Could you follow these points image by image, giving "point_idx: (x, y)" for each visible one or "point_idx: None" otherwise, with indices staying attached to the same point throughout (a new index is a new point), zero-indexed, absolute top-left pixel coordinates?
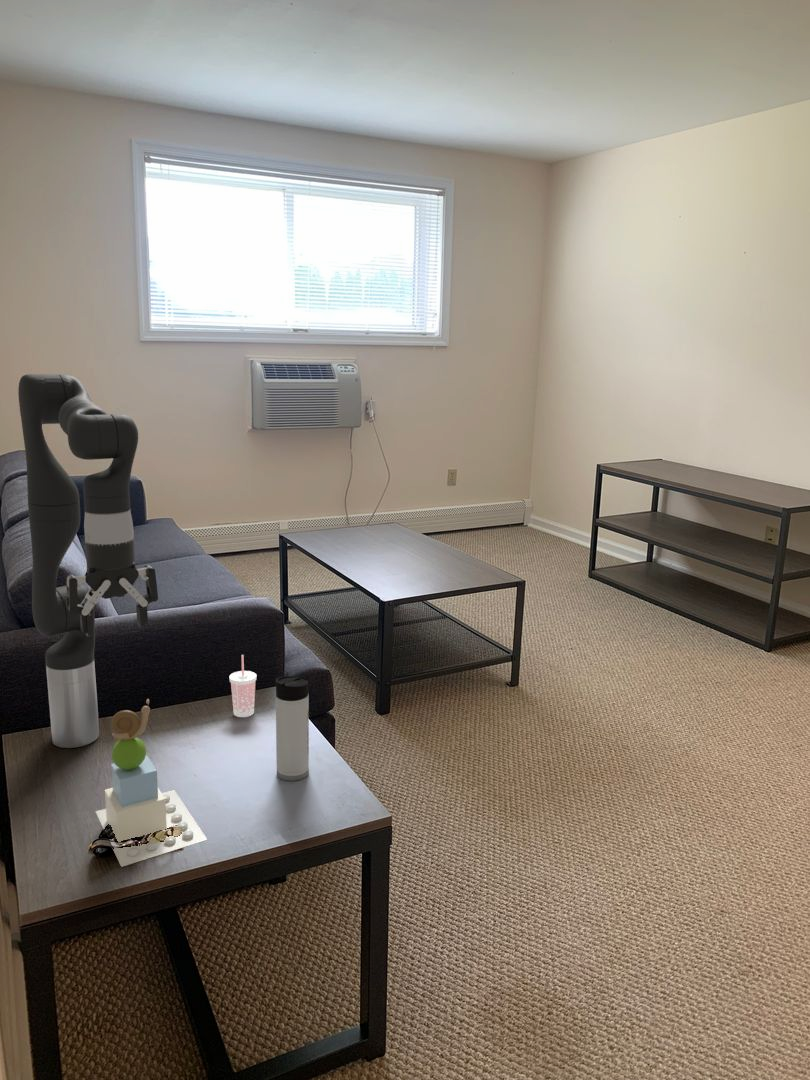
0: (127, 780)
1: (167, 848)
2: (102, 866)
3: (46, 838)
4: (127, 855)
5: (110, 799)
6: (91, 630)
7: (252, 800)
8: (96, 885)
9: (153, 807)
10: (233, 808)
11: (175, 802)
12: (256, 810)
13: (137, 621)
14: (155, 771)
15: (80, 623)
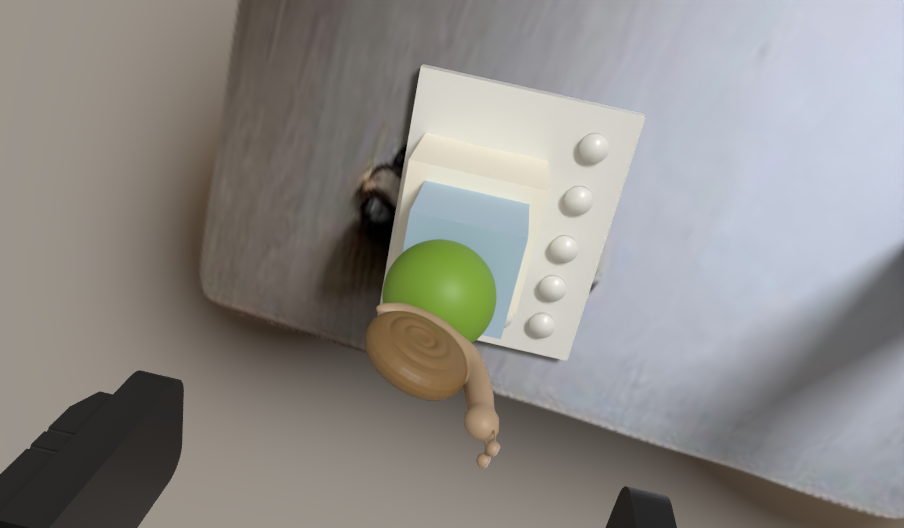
0: None
1: None
2: (356, 266)
3: (288, 74)
4: None
5: (400, 219)
6: (148, 503)
7: (771, 282)
8: (325, 311)
9: None
10: (709, 278)
11: (607, 178)
12: (742, 323)
13: (626, 518)
14: (497, 336)
15: (34, 442)
